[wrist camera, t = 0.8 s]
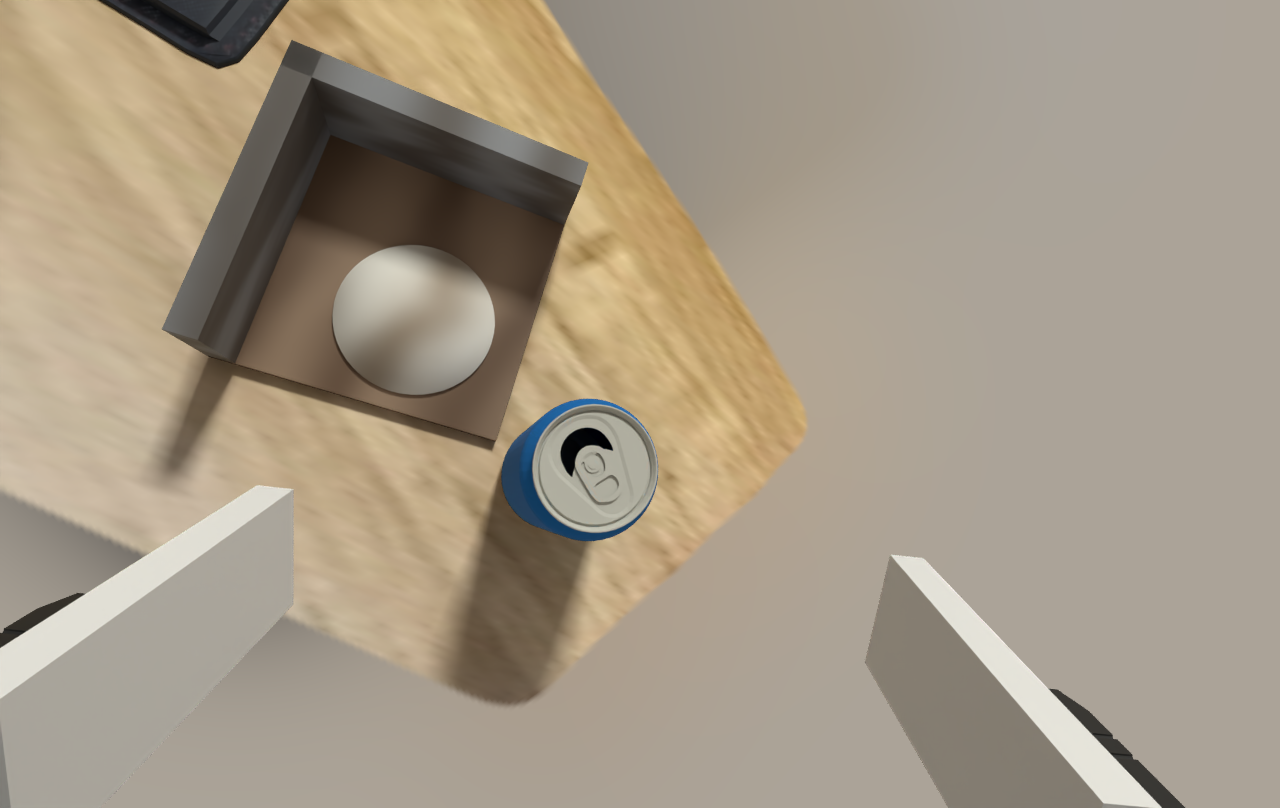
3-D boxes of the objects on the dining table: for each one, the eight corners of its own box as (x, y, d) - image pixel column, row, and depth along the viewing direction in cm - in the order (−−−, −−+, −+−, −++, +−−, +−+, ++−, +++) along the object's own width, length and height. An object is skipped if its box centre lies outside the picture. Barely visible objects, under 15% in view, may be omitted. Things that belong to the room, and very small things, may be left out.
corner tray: (208, 356, 35) (161, 329, 29) (314, 107, 38) (291, 40, 33) (495, 441, 39) (503, 431, 33) (569, 207, 42) (588, 162, 36)
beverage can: (570, 404, 40) (619, 368, 29) (624, 491, 41) (692, 490, 29) (479, 458, 38) (493, 442, 27) (536, 550, 39) (573, 573, 27)
